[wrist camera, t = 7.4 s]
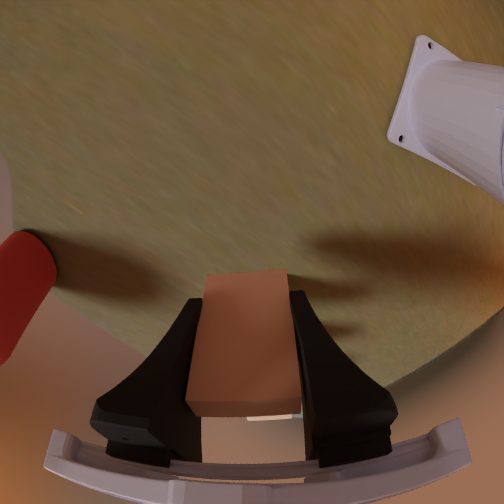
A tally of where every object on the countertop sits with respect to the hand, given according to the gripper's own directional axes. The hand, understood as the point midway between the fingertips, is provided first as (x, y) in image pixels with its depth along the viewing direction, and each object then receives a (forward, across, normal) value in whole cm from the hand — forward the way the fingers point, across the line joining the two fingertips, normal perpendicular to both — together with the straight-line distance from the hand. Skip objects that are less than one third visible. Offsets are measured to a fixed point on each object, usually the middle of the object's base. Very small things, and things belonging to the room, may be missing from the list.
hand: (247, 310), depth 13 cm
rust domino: (+2, 0, 0) cm, 2 cm away
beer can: (+8, +21, 0) cm, 22 cm away
